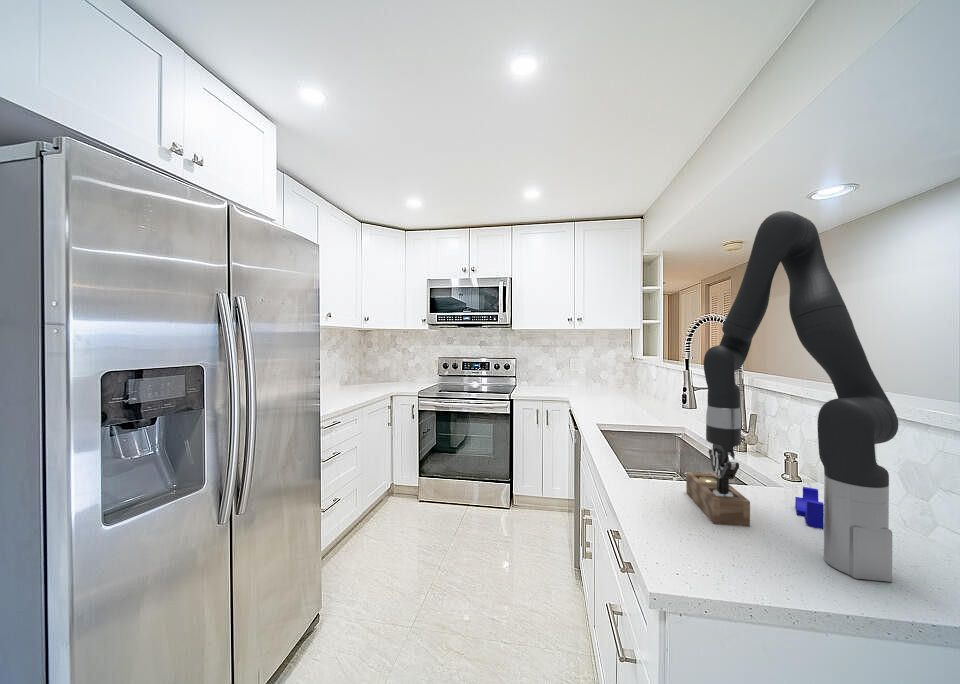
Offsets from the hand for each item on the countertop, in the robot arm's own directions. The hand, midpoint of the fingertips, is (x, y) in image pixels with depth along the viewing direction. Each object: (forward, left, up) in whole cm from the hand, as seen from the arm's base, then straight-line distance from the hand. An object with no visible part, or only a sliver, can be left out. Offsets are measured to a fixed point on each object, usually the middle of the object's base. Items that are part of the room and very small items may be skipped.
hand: (722, 492), depth 101 cm
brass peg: (+10, 0, -6) cm, 12 cm away
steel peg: (0, 0, -6) cm, 6 cm away
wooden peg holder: (+5, 0, -6) cm, 8 cm away
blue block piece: (+3, -21, -6) cm, 22 cm away
